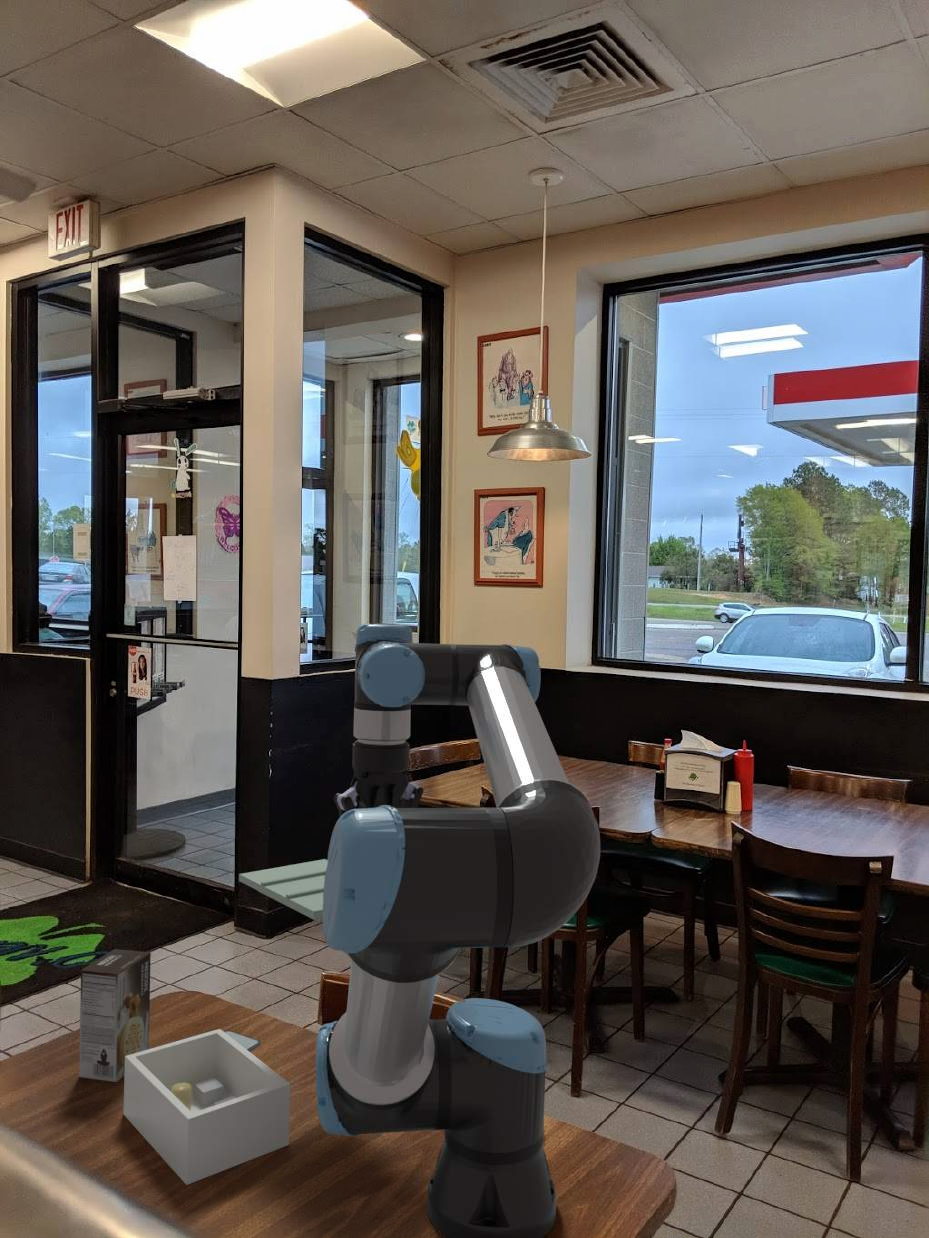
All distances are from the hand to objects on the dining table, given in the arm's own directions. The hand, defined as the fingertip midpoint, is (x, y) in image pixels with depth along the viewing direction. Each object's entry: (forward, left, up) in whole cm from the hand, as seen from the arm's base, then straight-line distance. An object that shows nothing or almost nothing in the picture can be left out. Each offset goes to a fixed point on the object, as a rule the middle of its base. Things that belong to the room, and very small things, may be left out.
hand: (376, 916), depth 127 cm
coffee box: (+38, +20, -29) cm, 52 cm away
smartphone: (+32, +7, -30) cm, 44 cm away
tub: (+14, +17, -29) cm, 36 cm away
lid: (+11, 0, -1) cm, 11 cm away
